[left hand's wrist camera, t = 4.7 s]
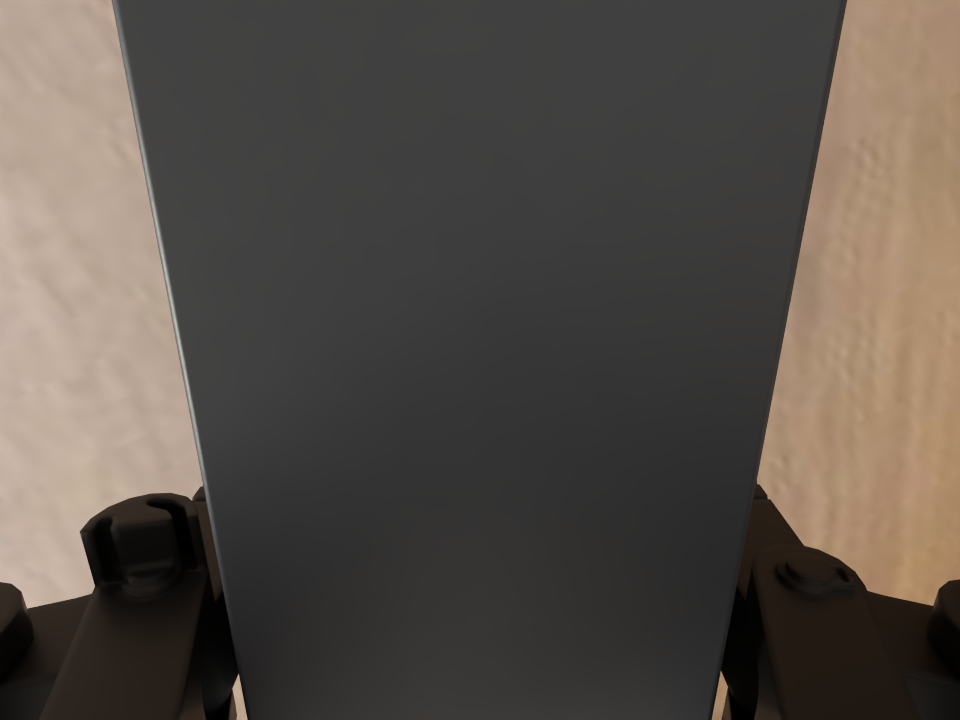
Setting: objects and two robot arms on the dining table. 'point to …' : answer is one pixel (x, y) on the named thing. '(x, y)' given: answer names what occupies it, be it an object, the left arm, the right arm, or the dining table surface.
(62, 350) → the dining table surface
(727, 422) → the bar
